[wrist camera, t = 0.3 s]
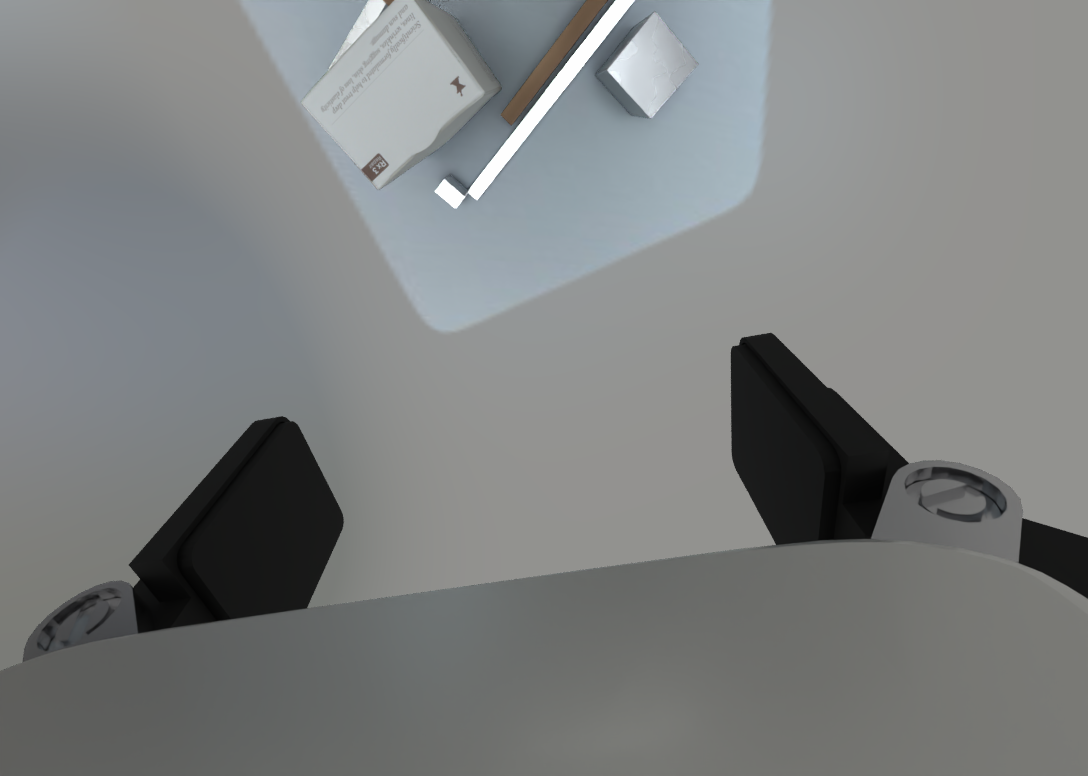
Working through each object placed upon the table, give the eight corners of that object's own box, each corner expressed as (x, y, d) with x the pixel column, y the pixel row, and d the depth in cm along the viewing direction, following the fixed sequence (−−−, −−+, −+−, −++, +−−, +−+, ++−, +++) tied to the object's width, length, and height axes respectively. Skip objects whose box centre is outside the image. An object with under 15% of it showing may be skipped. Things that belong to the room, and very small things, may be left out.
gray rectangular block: (594, 75, 39) (607, 70, 32) (633, 27, 37) (655, 11, 30) (631, 115, 40) (650, 118, 33) (669, 70, 39) (698, 64, 32)
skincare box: (453, 15, 37) (407, -30, 24) (506, 92, 39) (491, 89, 26) (371, 97, 39) (290, 96, 26) (426, 164, 42) (376, 194, 29)
